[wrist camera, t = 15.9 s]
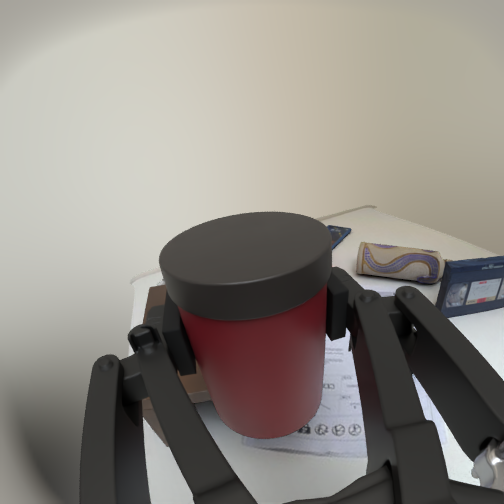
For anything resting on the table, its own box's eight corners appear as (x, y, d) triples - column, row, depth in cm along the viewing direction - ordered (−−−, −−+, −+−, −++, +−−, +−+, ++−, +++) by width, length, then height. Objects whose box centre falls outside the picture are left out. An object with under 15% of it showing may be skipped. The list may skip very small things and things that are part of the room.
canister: (219, 453, 12) (147, 301, 8) (207, 367, 18) (165, 228, 14) (342, 420, 13) (367, 254, 8) (303, 345, 19) (295, 203, 15)
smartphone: (303, 243, 71) (328, 224, 81) (304, 246, 71) (328, 227, 81) (331, 248, 66) (352, 228, 76) (331, 251, 67) (352, 230, 77)
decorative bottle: (353, 280, 54) (354, 250, 51) (360, 263, 60) (361, 236, 57) (472, 295, 41) (479, 265, 38) (466, 276, 47) (472, 248, 44)
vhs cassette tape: (437, 319, 38) (450, 267, 34) (432, 309, 41) (443, 258, 37) (510, 307, 34) (524, 261, 30) (503, 299, 37) (516, 253, 33)
